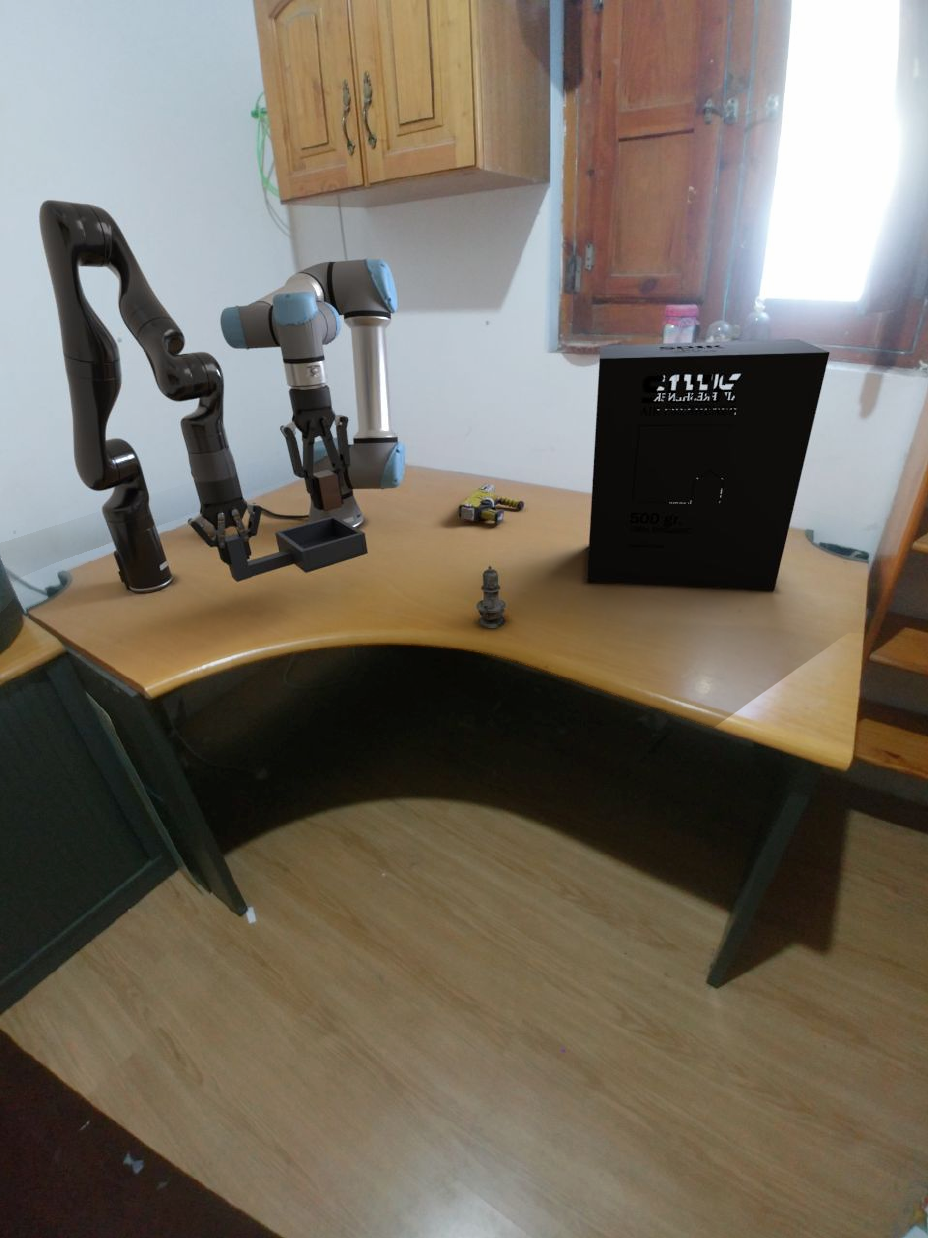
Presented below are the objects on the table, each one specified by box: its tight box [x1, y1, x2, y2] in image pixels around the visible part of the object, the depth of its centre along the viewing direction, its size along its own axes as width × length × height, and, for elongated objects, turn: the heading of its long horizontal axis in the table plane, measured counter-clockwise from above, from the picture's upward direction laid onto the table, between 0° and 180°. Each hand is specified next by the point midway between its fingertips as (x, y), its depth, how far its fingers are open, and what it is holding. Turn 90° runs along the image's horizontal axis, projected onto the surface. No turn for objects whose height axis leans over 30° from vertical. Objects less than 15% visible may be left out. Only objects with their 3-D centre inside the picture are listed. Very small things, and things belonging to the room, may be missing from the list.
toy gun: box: [457, 482, 525, 525], centre depth 171 cm, size 5×24×15 cm
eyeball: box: [203, 519, 215, 537], centre depth 166 cm, size 6×6×6 cm
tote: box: [225, 516, 369, 583], centre depth 123 cm, size 26×14×8 cm, turn 127°
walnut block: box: [313, 470, 342, 512], centre depth 123 cm, size 4×4×7 cm
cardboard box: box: [586, 338, 831, 592], centre depth 124 cm, size 38×20×45 cm, turn 78°
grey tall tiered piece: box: [475, 565, 507, 629], centre depth 116 cm, size 6×6×12 cm
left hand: (237, 560), depth 117 cm, fingers closed on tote, 3 cm apart
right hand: (328, 505), depth 124 cm, fingers closed on walnut block, 4 cm apart
